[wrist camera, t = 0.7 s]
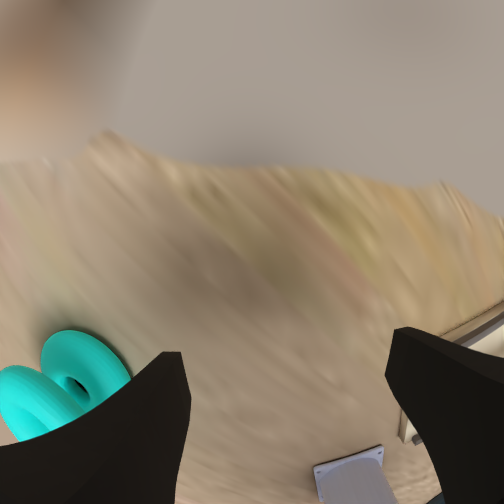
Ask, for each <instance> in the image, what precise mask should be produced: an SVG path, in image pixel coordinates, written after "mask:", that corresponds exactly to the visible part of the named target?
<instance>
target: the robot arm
mask: <svg viewBox="0 0 504 504" xmlns="http://www.w3.org/2000/svg"><path fill="white" fill-rule="evenodd" d="M385 377H386V380H387V382H388V384H389V387H390V389H391V391H392V393H393V395H394V397H395V399H396V400H397V402H398V403H399V405H400V407H401V408H402V410H403V411H404V413H405V414H406V416H407V417H408V419H409V420H410V422H411V424H412V425H413V427H414V428H415V430H416V431H417V433H418V434H419V436H420V438H421V439H422V441H423V443H424V445H425V447H426V449H427V451H428V453H429V456H430V458H431V460H432V463H433V465H434V468H435V471H436V474H437V476H438V479H439V482H440V486H441V489H442V493H443V497H444V501H445V504H504V358H502V357H498V356H493V355H489V354H486V353H482V352H479V351H476V350H473V349H470V348H467V347H464V346H461V345H458V344H456V343H453V342H451V341H448V340H445V339H443V338H440V337H438V336H435V335H432V334H430V333H427V332H424V331H422V330H419V329H415V328H412V327H404V328H399V329H394V334H393V339H392V344H391V349H390V354H389V358H388V363H387V367H386V371H385ZM190 410H191V394H190V390H189V386H188V382H187V378H186V373H185V369H184V365H183V360H182V355H181V352H162V353H160V354H159V355H158V356H157V357H156V358H155V359H154V360H152V361H151V362H150V363H149V364H148V365H147V366H146V367H145V368H144V369H143V370H141V371H140V372H139V373H138V374H137V375H136V376H135V377H133V378H132V379H131V380H130V381H129V382H128V383H127V384H125V385H124V386H123V387H122V388H120V389H119V390H118V391H116V392H115V393H114V394H113V395H111V396H110V397H109V398H107V399H106V400H105V401H103V402H102V403H101V404H99V405H98V406H96V407H95V408H93V409H92V410H90V411H89V412H87V413H85V414H84V415H82V416H80V417H79V418H77V419H75V420H73V421H71V422H69V423H67V424H65V425H63V426H61V427H59V428H57V429H54V430H52V431H50V432H48V433H45V434H43V435H40V436H37V437H34V438H32V439H28V440H25V441H22V442H18V443H14V444H10V445H5V446H0V504H174V503H175V489H176V481H177V475H178V471H179V466H180V462H181V457H182V453H183V449H184V444H185V440H186V435H187V431H188V426H189V421H190ZM383 453H384V447H383V446H378V447H375V448H373V449H370V450H367V451H364V452H362V453H359V454H356V455H353V456H350V457H346V458H343V459H340V460H336V461H333V462H329V463H326V464H322V465H318V466H315V467H314V468H313V470H314V475H315V480H316V485H317V491H318V496H319V501H321V502H323V501H324V503H325V504H398V502H397V500H396V498H395V495H394V493H393V491H392V489H391V487H390V485H389V483H388V481H387V479H386V477H385V474H384V472H383V470H382V461H383Z"/></svg>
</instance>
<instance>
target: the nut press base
mask: <svg viewBox="0 0 504 504" xmlns="http://www.w3.org/2000/svg"><path fill="white" fill-rule="evenodd" d="M440 338H443V339H445V340H448V341H451V342H453V343H456V344H458V345H461V346H464V347H467V348H470V349H473V350H476V351H479V352H482V353H486V354H489V355H493V356H498V357H502V358H504V301H503V302H501V303H500V304H498V305H497V306H495V307H493V308H492V309H490V310H488V311H487V312H485V313H483V314H482V315H480V316H478V317H476V318H475V319H473V320H471V321H469V322H467V323H466V324H464V325H462V326H460V327H458V328H456V329H454V330H452V331H450V332H448V333H446V334H444V335H442V336H440ZM399 438H400V439H401V441H402V442H403V444H406V443H408V442H410V441H413V443H414V444H415V446H416V445H418V444H420V443H422V442H423V441H422V439H421V438H420V436H419V434H418V433H417V431H416V430H415V428H414V427H413V425H412V424H411V422H410V420H409V419H408V417H407V416H406V414H405V413H404V411H403V410H402V415H401V423H400V431H399Z"/></svg>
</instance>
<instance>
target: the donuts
mask: <svg viewBox="0 0 504 504" xmlns="http://www.w3.org/2000/svg"><path fill="white" fill-rule="evenodd" d="M41 371H42V373H40V372H38V371H36V370H34V369H32V368H29V367H25V366H20V365H13V366H9V367H6V368H4V369H3V370H2V371H0V413H1V415H2V417H3V419H4V421H5V422H6V424H7V426H8V427H9V429H10V430H11V431H12V433H13V434H14V435H15V436H16V438H17V439H18V440H19V441H20V442H22V441H25V440H28V439H32V438H34V437H37V436H40V435H43V434H45V433H48V432H50V431H52V430H54V429H57V428H59V427H61V426H63V425H65V424H67V423H69V422H71V421H73V420H75V419H77V418H79V417H80V416H82V415H84V414H85V413H87V412H89V411H90V410H92V409H93V408H95V407H96V406H98V405H99V404H101V403H102V402H103V401H105V400H106V399H107V398H109V397H110V396H111V395H113V394H114V393H115V392H116V391H118V390H119V389H120V388H122V387H123V386H124V385H125V384H127V383H128V382H129V381H130V380H131V378H130V376H129V374H128V372H127V370H126V368H125V367H124V365H123V364H122V362H121V361H120V360H119V359H118V357H117V356H116V355H115V354H114V353H113V352H112V351H111V350H110V349H109V348H108V347H107V346H106V345H104V344H103V343H102V342H100V341H99V340H97V339H96V338H94V337H92V336H90V335H88V334H86V333H83V332H79V331H74V330H64V331H60V332H57V333H55V334H53V335H52V336H51V337H49V338H48V340H47V341H46V342H45V344H44V346H43V349H42V352H41ZM74 379H76V380H77V381H78V382H80V383H81V384H82V385H83V386H84V387H85V389H86V390H87V392H88V393H87V392H85V391H84V390H83V389H82V388H81V387H80V386H79V385H78V384H77V383H76V382H75V380H74Z"/></svg>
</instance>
